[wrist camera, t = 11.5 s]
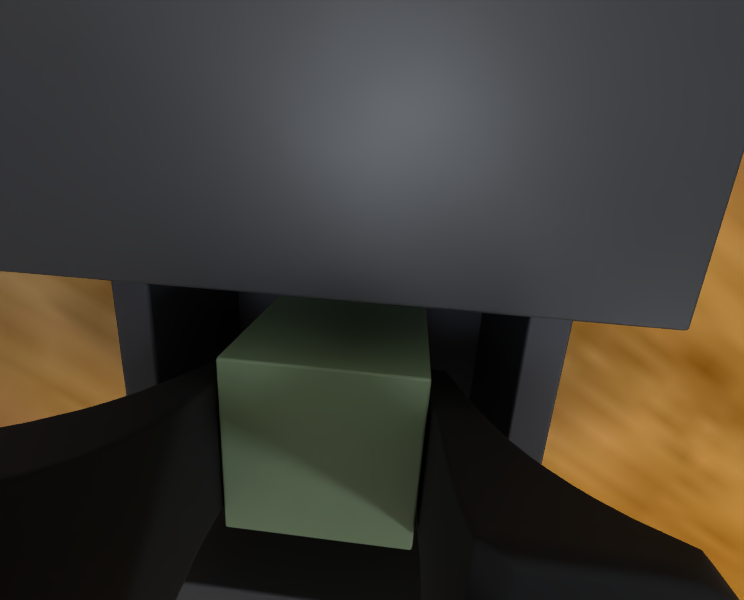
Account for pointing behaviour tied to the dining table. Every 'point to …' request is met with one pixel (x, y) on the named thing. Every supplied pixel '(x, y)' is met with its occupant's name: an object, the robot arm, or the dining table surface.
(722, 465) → the dining table surface
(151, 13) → the black drawer box
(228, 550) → the pull-out drawer
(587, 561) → the robot arm
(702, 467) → the dining table surface
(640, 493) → the dining table surface
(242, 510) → the block
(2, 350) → the dining table surface
